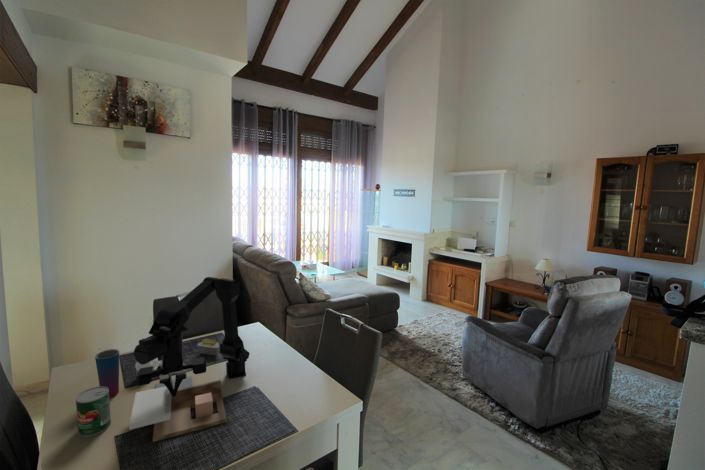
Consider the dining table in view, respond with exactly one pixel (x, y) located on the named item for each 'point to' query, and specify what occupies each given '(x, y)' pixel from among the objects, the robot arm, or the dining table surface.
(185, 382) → the mat
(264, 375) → the dining table surface
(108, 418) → the canned tomato
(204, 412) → the block
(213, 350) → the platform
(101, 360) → the cup
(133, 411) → the cover
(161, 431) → the brown open box
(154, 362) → the white animal figurine
